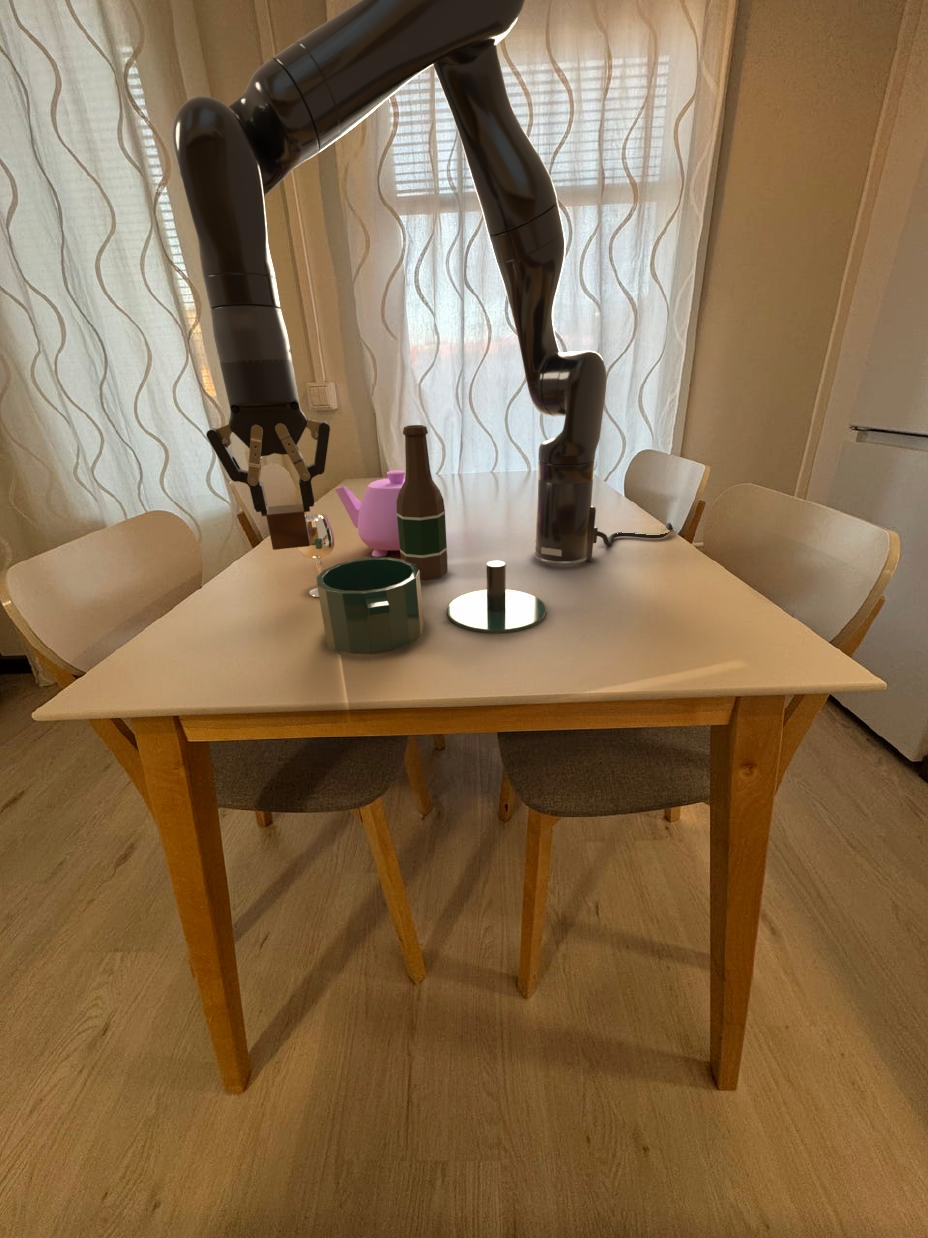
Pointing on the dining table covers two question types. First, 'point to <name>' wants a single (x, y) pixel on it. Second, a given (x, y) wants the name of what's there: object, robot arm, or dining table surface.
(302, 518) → the block
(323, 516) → the wineglass
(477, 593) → the lid
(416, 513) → the beer bottle
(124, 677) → the dining table surface
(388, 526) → the teapot
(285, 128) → the robot arm
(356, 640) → the pot
